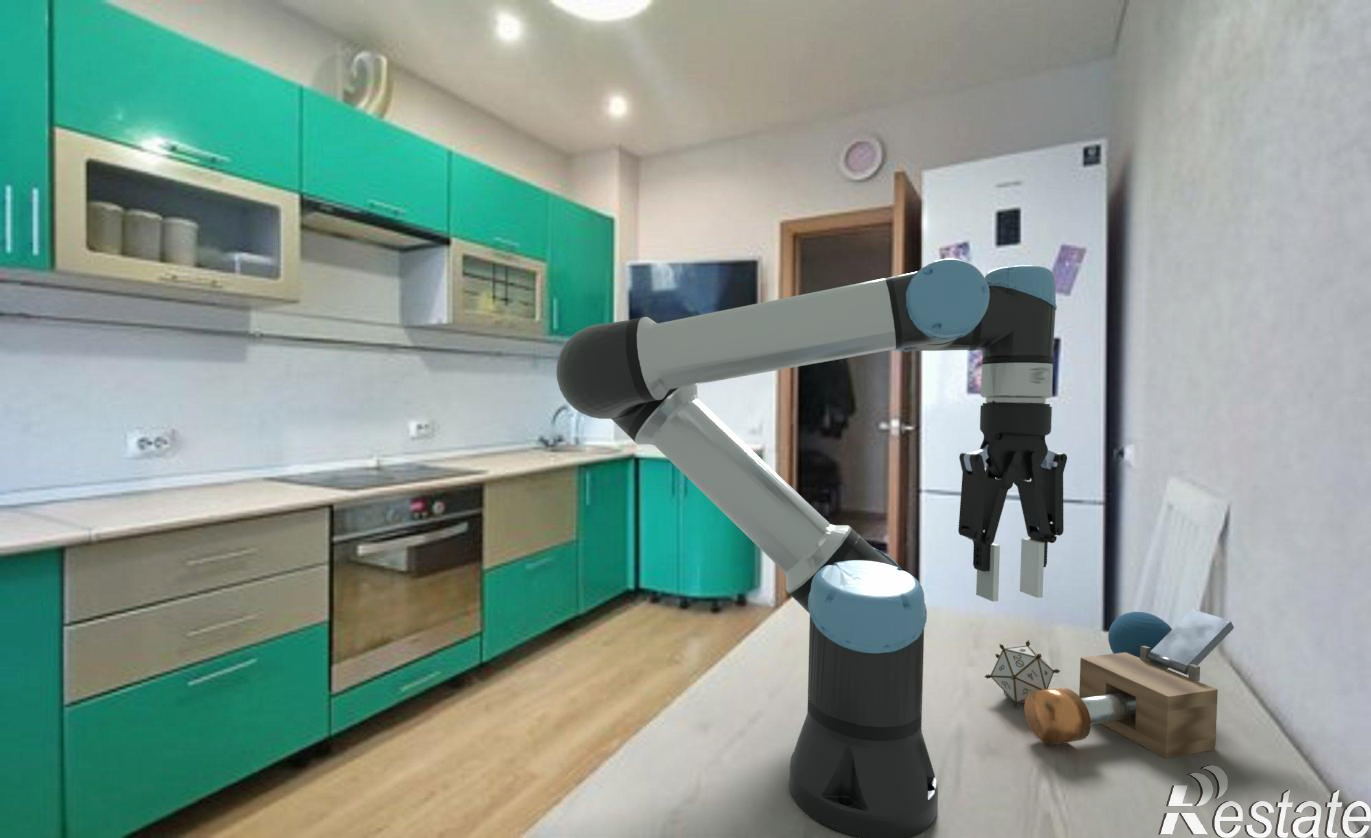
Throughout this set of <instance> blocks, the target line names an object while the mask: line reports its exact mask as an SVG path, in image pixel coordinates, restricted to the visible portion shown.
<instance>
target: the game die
mask: <svg viewBox="0 0 1371 838" xmlns="http://www.w3.org/2000/svg"><path fill="white" fill-rule="evenodd" d="M1030 644H1031V642H1030V640H1027V641H1025V645H1021V646H1014V647H1007V648H1005V646H1004V644H1002V643H999V648H1000V650H1001V651H1000V654H998V653H995V654H994V655H995V658H997V661H996V662H995V665H994V667H993V669H992V671H991V673H990V674H986V675H984V678H986V679H991V680H992V681H994V682H995V683H996V684H997V686H999V687H1000V688H1001V689H1002V691H1003V693H1006V695H1008V697H1010V699H1011V700H1012V701H1013V702H1014V703H1013V708H1014V710H1016V709H1018V708H1019V706H1018V705H1019V704H1020V703H1025V700H1026V697H1027V696H1028V694H1029V693H1031V692H1033V691H1038V690H1046V689H1049V688H1050V684H1051V681H1052V679H1053V676H1054V674H1059V673H1060V672H1061V670H1059V669H1058V668H1056V669H1053V668H1051V667H1050V666H1049V664H1048V663H1047V662H1045V661H1044V660H1043V659H1042V653H1036V652H1035V651H1034V650H1033V649H1032V648H1031V647H1030Z"/></svg>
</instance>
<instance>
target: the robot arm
mask: <svg viewBox="0 0 1371 838" xmlns="http://www.w3.org/2000/svg"><path fill="white" fill-rule="evenodd" d="M1056 301H1057V300H1056V278H1055V275H1054V273H1053V271H1051V270H1050V269H1049V268H1047V267H1045V266H1040V265H1014V266H1004V267H999V268H994V269H992V270H990V271H988V272H987V273H986V274H985V276H984V274H983V273H982V272H981V271H980V270H979V269H978V268H977V266H975V265H973V264H971V263H969V262H968V261H965V260H962V259H958V258H943V259H939V260H935V261H933V262H931V263H929V264H927V265H925V266H923V267H921V268H920V269H919V270H917V271H914V272H910V273H908V272H907V273H904V274H899V275H898V274H897V275H893V276H891V277H886V278H879V279H873V280H869V281H864V282H863V281H862V282H859V283H855V284H853V283H852V284H848V285H844V286H838V287H834V288H829V289H824V290H823V289H822V290H818V291H813V292H810V293H803V294H798V295H793V296H789V297H784V298H778V299H774V300H769V301H763V302H759V303H753V304H749V305H745V306H744V305H743V306H738V307H733V308H728V309H724V310H718V311H714V312H708V313H704V314H699V315H694V316H689V317H685V318H678V319H674V320H669V321H664V322H656V321H655V320H653V319H652V318H650V317H648V316H643V317H638V318H632V319H627V320H621V321H614V322H607V323H600V324H593V325H589V326H587V327H584V328H582V329H581V330H580V329H579V330H578V331H577V332H575V333H574V334H573V335H572V336H571V337H570V338H569V339H568V340H567V341H566V342H565V343H564V345H563V347H562V349H561V351H560V353H559V356H558V358H557V362H556V369H555V370H556V371H555V373H556V380H557V384H558V388H559V390H560V392H561V394H562V396H563V398H564V399H565V400H566V402H567V403H568V404H569V405H570V406H571V407H572V408H573V409H574V410H576V411H578V412H579V413H580V414H582V415H585V416H588V417H589V418H594V419H599V420H600V419H602V420H605V419H608V420H612V421H613V422H614V424H616V426H618V427H619V429H621V431H623V432H624V433H625V434H626V435H627V436H628V437H629V438H630V439H631V440H632V441H633V442H634V443H635V444H636V445H638V446H639V445H640V446H641V445H642V446H643V445H645V446H646V445H648V446H655V448H656V449H657V450H658V451H660V453H662V454H663V456H664V457H666V458H667V459H668V460H669V461H670V462H671V463H672V464H673V465H674V466H675V467H676V468H677V469H678V470H679V471H680V472H681V473H682V474H683V475H684V476H685V477H686V478H687V479H688V480H689V481H690V482H691V483H693V485H694V486H695V487H696V488H697V489H699V491H700V492H702V493H703V494H704V496H705V497H707V498H708V499H709V500H710V501H711V503H713V504H714V505H715V506H716V507H717V508H718V509H719V510H720V511H721V512H722V513H723V514H724V515H725V516H726V517H727V518H728V519H729V520H730V521H731V522H733V524H735V526H737V528H739V529H740V530H741V532H742V533H743V534H745V535H746V537H747V538H749V539H750V540H751V541H752V543H754V545H756V546H757V547H758V548H759V550H761V551H762V552H763V553H764V554H765V555H766V556H767V557H768V558H769V559H770V560H772V562H773V563H774V564H775V565H776V566H777V567H778V568H779V569H780V570H781V571H783V573H784V576H785V589H786V592H787V593H788V594H789V595H790V596H791V597H792V598H793V599H794V600H795V601H796V603H798V604H799V605H800V606H801V607H802V608H803V609H804V610H805V611H806V612H807V613H808V614H809V633H808V634H809V636H808V637H809V638H808V673H807V674H808V678H807V680H808V681H807V682H808V683H807V708H806V709H807V713H806V716H805V719H804V721H803V724H802V726H801V730H800V732H799V736H798V738H797V740H796V744H795V748H794V750H793V752H792V755H791V757H790V761H789V772H788V776H789V778H788V779H789V780H788V786H789V790H790V794H791V796H792V798H793V799H794V801H795V803H796V804H797V806H799V807H800V809H802V811H804V812H805V813H806V814H808V816H810V817H811V818H812V819H814V820H815V821H817V822H819V823H821V825H822V824H823V825H824V826H826V827H828V828H830V829H833V830H836V831H838V832H839V833H840V832H841V833H844V834H846V835H850V836H854V837H859V838H909V837H913V836H915V835H918V834H920V833H922V832H924V831H925V830H926V829H928V828H929V827H930V826H932V824H933V823H934V822H935V820H936V818H937V815H938V808H939V807H938V803H939V801H938V800H939V799H938V798H939V789H938V787H939V786H938V783H937V778H936V775H935V771H934V768H933V765H932V762H931V759H930V755H929V750H928V748H927V744H926V742H925V737H924V734H923V730H922V722H923V717H922V716H923V712H922V711H923V691H924V689H923V688H924V686H923V685H924V683H923V681H924V652H925V651H924V650H925V649H924V648H925V647H924V646H925V645H924V644H925V643H924V642H925V627H926V623H927V618H928V617H927V616H928V615H927V614H928V613H927V611H928V610H927V606H926V605H927V604H926V602H925V591H924V589H923V586H922V585H921V583H920V581H918V579H917V578H916V577H915V576H913V575H912V574H911V573H909V572H908V571H906V570H902V568H901V566H900V565H899V564H898V563H897V562H896V561H895V560H894V559H893V558H892V557H891V556H890V555H888V554H887V553H885V552H883V551H882V550H879V549H877V548H875V547H873V546H872V545H871V544H870V543H868V542H867V541H866V540H865V539H864V538H863V537H862V536H861V535H860V534H859V533H857V531H855V530H854V529H853V528H852V527H851V526H850V525H846V524H842V525H840V524H836V525H835V524H831V523H830V522H829V521H828V520H827V519H826V518H825V517H824V516H823V515H821V514H820V513H819V512H818V511H817V510H816V509H815V508H814V507H813V505H811V504H810V503H809V502H808V501H806V499H804V497H802V495H800V494H799V492H797V491H796V490H795V489H794V488H793V487H792V486H790V484H788V482H787V481H786V480H784V478H783V477H781V476H780V475H779V474H778V473H777V472H776V471H775V470H774V469H773V468H772V467H771V466H770V465H768V464H767V462H765V461H764V460H763V459H762V458H761V457H760V456H759V455H758V454H757V453H756V452H755V451H753V450H752V449H751V447H750V446H749V445H747V444H746V443H745V442H744V441H743V440H742V439H741V438H740V437H739V436H738V435H737V434H736V433H735V432H734V431H733V430H732V429H730V428H729V427H728V426H727V425H726V424H725V423H724V422H723V421H722V420H721V419H720V418H719V417H717V415H716V414H715V413H714V412H712V411H711V410H710V408H708V407H707V406H706V405H705V404H704V403H703V402H702V401H701V400H700V399H699V397H698V385H700V384H701V385H702V384H706V383H712V382H719V381H724V380H728V379H729V380H730V379H734V378H735V379H736V378H741V377H746V376H752V375H753V376H754V375H757V374H763V373H768V372H774V371H781V370H786V369H791V368H796V367H798V368H799V367H801V366H808V365H812V364H813V365H814V364H818V363H824V362H831V361H836V360H842V359H846V358H852V357H853V358H854V357H859V356H864V355H871V354H876V353H881V352H887V351H900V352H901V351H902V352H905V353H911V352H923V351H924V352H925V351H927V352H928V351H929V352H931V351H932V352H934V351H935V352H938V351H970V352H971V351H972V352H973V351H981V356H982V359H981V378H980V397H981V398H984V399H985V402H982V405H980V410H979V411H980V413H979V414H980V415H979V431H980V432H982V434H983V438H982V439H983V440H982V443H981V444H980V446H979V449H977V450H975V451H971V452H965V451H964V452H961V453H960V454H959V455H958V458H959V463H960V467H961V471H962V476H961V492H960V504H959V517H958V518H959V519H958V534H959V535H960V536H963V537H965V538H967V539H969V540H972V542H973V550H972V551H973V554H972V555H973V558H972V565H973V568H974V569H975V570H976V587H975V588H976V590H975V591H976V592H975V595H976V596H978V597H981V598H983V599H986V600H988V601H991V602H999V584H1000V560H1001V559H1000V555H1001V551H1000V550H1001V545H1000V544H997V543H994V542H995V539H996V535H997V531H998V527H999V523H1000V521H1001V516H1002V513H1003V509H1004V506H1005V502H1006V500H1007V499H1006V498H1007V496H1008V492H1009V490H1010V489H1012V488H1013V485H1015V486H1016V487H1017V491H1018V496H1019V501H1020V505H1021V509H1022V516H1023V519H1024V525H1025V529H1026V534H1027V538H1021V540H1020V541H1021V545H1020V575H1019V576H1020V577H1019V578H1020V579H1019V592H1021V593H1023V594H1026V595H1029V596H1032V597H1034V598H1037V599H1038V598H1040V599H1041V598H1043V597H1044V596H1043V594H1044V570H1045V569H1044V568H1046V567H1047V564H1048V545H1049V544H1048V543H1051V544H1053V543H1055V542H1056V541H1057V537H1058V536H1062V535H1063V533H1064V473H1065V468H1066V465H1067V462H1068V456H1067V454H1066V453H1061V452H1054V451H1051V450H1049V448H1048V446H1047V445H1048V444H1047V442H1046V436H1048V435H1050V434H1051V433H1052V418H1053V417H1052V415H1053V411H1052V410H1053V406H1051V404H1050V403H1046V401H1047V400H1048V399H1051V398H1052V397H1053V374H1054V372H1053V371H1054V369H1053V368H1054V365H1053V364H1054V343H1055V342H1054V341H1055V326H1056V325H1055V323H1056V311H1057V310H1058V308H1057V307H1058V306H1057V303H1056ZM1028 537H1029V538H1028Z"/></svg>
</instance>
